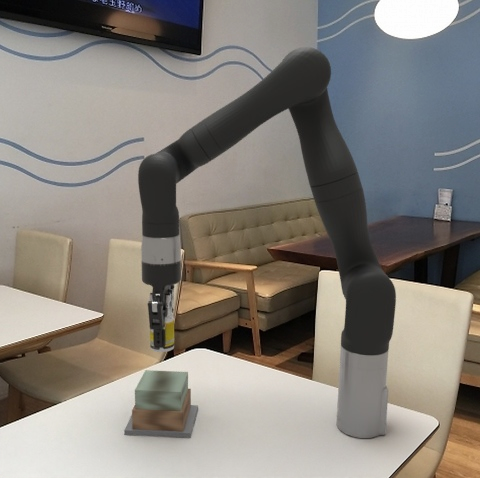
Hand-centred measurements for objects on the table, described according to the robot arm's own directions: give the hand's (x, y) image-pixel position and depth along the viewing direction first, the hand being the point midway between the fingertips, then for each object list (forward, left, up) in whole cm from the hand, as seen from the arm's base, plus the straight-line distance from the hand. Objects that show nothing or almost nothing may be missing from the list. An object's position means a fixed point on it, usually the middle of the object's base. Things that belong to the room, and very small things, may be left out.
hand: (162, 341), depth 108 cm
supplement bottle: (0, 0, -2) cm, 2 cm away
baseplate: (0, 0, -17) cm, 17 cm away
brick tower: (0, 0, -17) cm, 17 cm away
